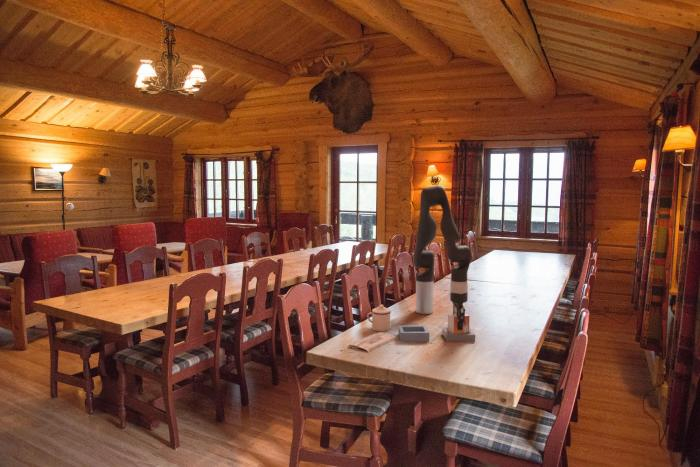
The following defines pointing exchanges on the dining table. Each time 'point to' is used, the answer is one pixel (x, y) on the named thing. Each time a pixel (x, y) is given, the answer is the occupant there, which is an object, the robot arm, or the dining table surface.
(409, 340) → the port sleeve
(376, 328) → the teacup with lid
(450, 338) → the frame
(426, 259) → the robot arm
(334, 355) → the dining table surface
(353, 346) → the newspaper
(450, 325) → the small box
